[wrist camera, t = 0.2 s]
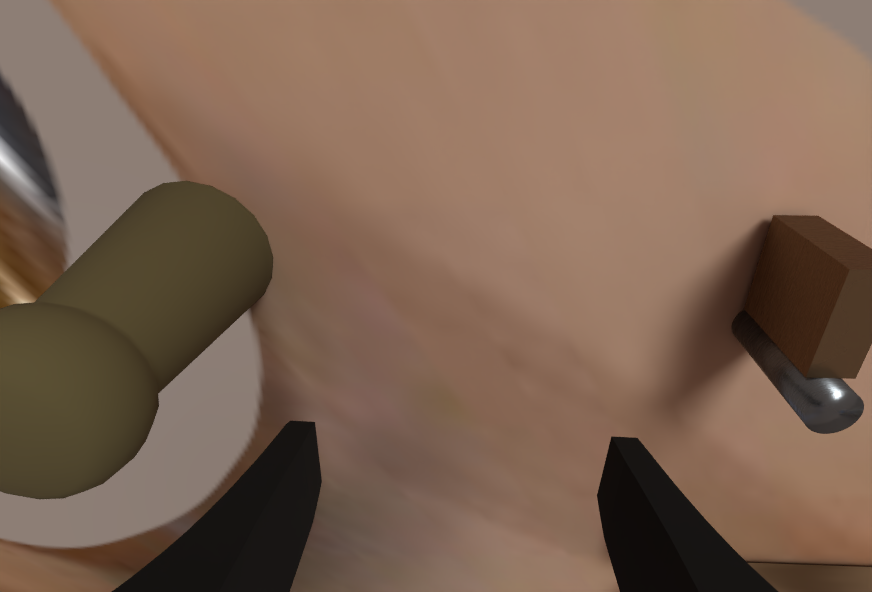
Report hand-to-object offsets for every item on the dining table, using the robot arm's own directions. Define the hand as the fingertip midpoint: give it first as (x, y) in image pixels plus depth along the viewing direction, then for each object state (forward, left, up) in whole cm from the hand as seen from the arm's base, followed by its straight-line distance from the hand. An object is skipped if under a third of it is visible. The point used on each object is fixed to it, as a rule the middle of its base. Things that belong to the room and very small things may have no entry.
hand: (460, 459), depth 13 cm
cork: (+1, +11, -10) cm, 15 cm away
